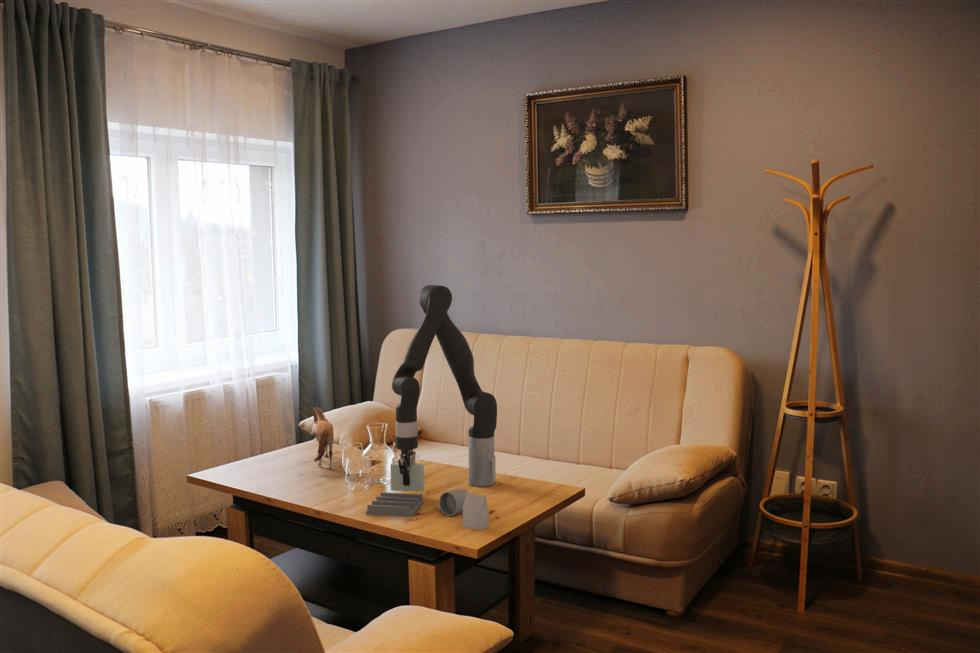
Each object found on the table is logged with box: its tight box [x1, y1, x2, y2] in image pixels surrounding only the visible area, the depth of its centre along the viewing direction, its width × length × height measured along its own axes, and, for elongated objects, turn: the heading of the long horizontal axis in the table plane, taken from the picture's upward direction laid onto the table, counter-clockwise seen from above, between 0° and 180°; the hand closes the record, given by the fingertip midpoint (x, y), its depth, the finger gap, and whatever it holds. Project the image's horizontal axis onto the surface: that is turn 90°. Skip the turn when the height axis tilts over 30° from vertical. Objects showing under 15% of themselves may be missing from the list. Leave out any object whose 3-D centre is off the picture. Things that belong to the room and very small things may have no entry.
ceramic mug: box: [437, 488, 469, 517], centre depth 264 cm, size 11×8×8 cm
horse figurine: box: [311, 406, 335, 469], centre depth 325 cm, size 31×8×21 cm, turn 13°
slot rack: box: [365, 491, 424, 518], centre depth 267 cm, size 15×14×3 cm
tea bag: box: [462, 492, 489, 531], centre depth 249 cm, size 4×7×10 cm, turn 58°
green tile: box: [390, 462, 425, 493], centre depth 281 cm, size 11×2×9 cm, turn 80°
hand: (407, 483), depth 281 cm, fingers closed on green tile, 2 cm apart
